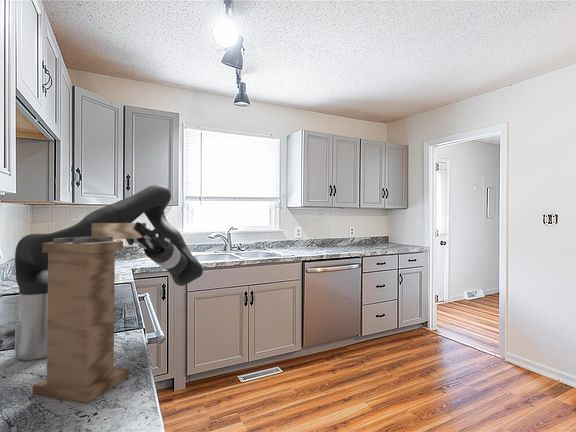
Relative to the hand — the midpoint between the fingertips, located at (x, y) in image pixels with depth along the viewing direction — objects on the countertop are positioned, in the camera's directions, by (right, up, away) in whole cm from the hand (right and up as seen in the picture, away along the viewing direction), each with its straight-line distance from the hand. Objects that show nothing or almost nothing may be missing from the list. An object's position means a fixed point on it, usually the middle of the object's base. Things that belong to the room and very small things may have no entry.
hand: (130, 225), depth 91 cm
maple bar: (-1, -3, -4) cm, 5 cm away
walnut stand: (-4, -35, -15) cm, 39 cm away
